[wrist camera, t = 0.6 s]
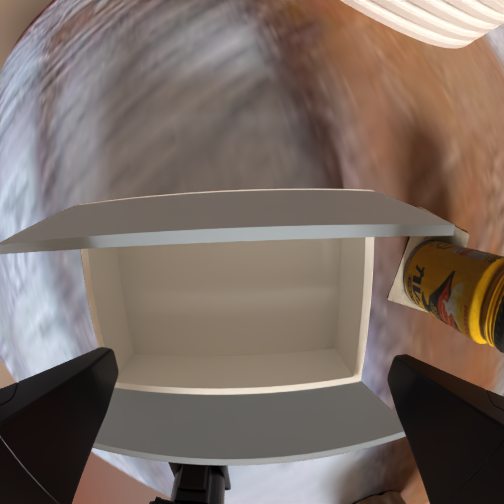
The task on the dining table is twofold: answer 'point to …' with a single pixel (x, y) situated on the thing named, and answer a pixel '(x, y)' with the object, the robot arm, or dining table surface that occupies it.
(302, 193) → the flap
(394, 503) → the plant pot
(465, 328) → the condiment
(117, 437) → the flap
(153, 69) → the dining table surface
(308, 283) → the carton
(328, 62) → the dining table surface
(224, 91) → the dining table surface
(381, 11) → the plate stack
